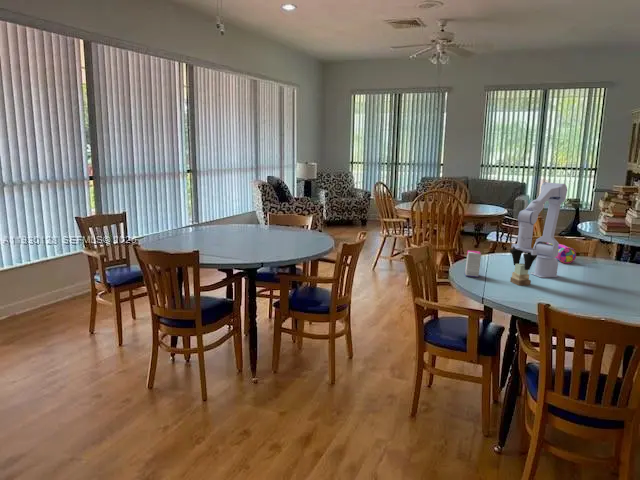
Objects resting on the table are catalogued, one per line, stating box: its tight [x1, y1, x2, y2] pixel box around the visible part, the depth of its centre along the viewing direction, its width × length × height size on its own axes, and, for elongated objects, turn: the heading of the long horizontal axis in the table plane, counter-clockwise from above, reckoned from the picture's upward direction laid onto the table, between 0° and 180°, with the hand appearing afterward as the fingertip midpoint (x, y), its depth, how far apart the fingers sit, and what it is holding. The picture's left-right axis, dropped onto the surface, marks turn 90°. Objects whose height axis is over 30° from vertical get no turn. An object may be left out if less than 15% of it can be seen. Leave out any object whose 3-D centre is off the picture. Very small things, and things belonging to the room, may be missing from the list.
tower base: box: [509, 276, 532, 287], centre depth 221 cm, size 6×6×2 cm
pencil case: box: [546, 242, 577, 264], centre depth 270 cm, size 22×9×9 cm, turn 1°
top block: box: [514, 263, 529, 275], centre depth 220 cm, size 4×4×4 cm
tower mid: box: [511, 271, 530, 280], centre depth 221 cm, size 5×5×2 cm
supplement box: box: [464, 250, 482, 279], centre depth 230 cm, size 6×6×12 cm
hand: (521, 267), depth 219 cm, fingers open, 7 cm apart
